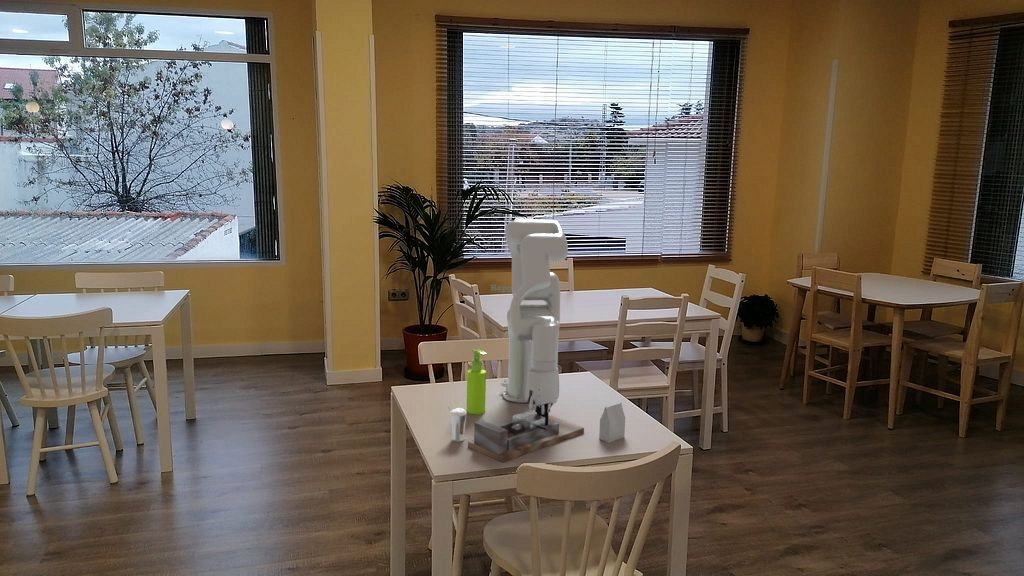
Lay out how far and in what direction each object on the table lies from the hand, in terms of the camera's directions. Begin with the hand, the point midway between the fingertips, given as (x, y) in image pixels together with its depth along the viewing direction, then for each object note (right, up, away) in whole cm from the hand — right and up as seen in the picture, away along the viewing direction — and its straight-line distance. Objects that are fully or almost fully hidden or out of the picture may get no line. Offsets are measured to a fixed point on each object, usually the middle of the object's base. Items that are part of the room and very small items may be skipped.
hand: (542, 425), depth 214 cm
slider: (-4, -2, -6) cm, 7 cm away
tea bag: (+20, -4, -1) cm, 21 cm away
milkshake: (-24, -3, -5) cm, 25 cm away
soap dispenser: (-20, +1, +19) cm, 27 cm away
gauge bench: (-4, -3, -3) cm, 6 cm away
